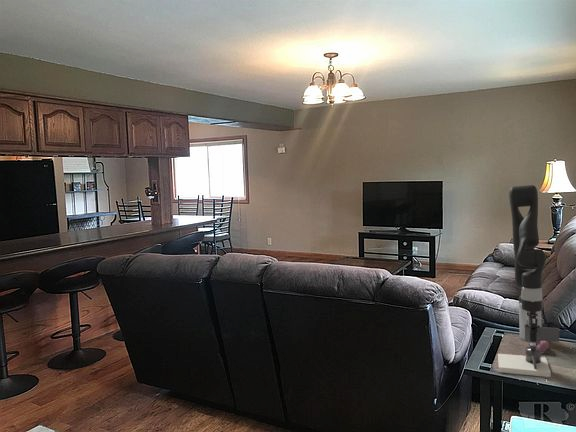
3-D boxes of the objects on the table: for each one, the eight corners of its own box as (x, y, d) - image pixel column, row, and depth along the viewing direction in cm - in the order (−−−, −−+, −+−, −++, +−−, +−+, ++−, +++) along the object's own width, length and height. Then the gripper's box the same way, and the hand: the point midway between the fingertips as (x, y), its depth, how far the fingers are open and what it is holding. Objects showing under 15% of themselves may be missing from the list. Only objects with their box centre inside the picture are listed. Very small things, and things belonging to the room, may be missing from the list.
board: (497, 358, 197) (497, 353, 197) (545, 362, 190) (545, 357, 190) (499, 372, 183) (499, 367, 183) (550, 377, 176) (550, 372, 176)
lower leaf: (525, 357, 191) (524, 331, 190) (540, 359, 189) (539, 332, 188) (527, 368, 181) (526, 340, 180) (543, 369, 179) (542, 342, 178)
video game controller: (544, 357, 199) (552, 343, 198) (534, 352, 200) (542, 338, 199) (537, 349, 209) (544, 335, 208) (527, 344, 209) (534, 331, 208)
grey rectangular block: (524, 337, 190) (523, 323, 190) (558, 340, 186) (557, 325, 185) (525, 342, 185) (525, 327, 185) (560, 344, 181) (560, 329, 180)
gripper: (520, 293, 194) (520, 332, 195) (522, 302, 180) (523, 344, 182) (540, 294, 191) (540, 333, 192) (544, 303, 178) (545, 345, 179)
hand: (532, 338), depth 187 cm, fingers closed on grey rectangular block, 5 cm apart
